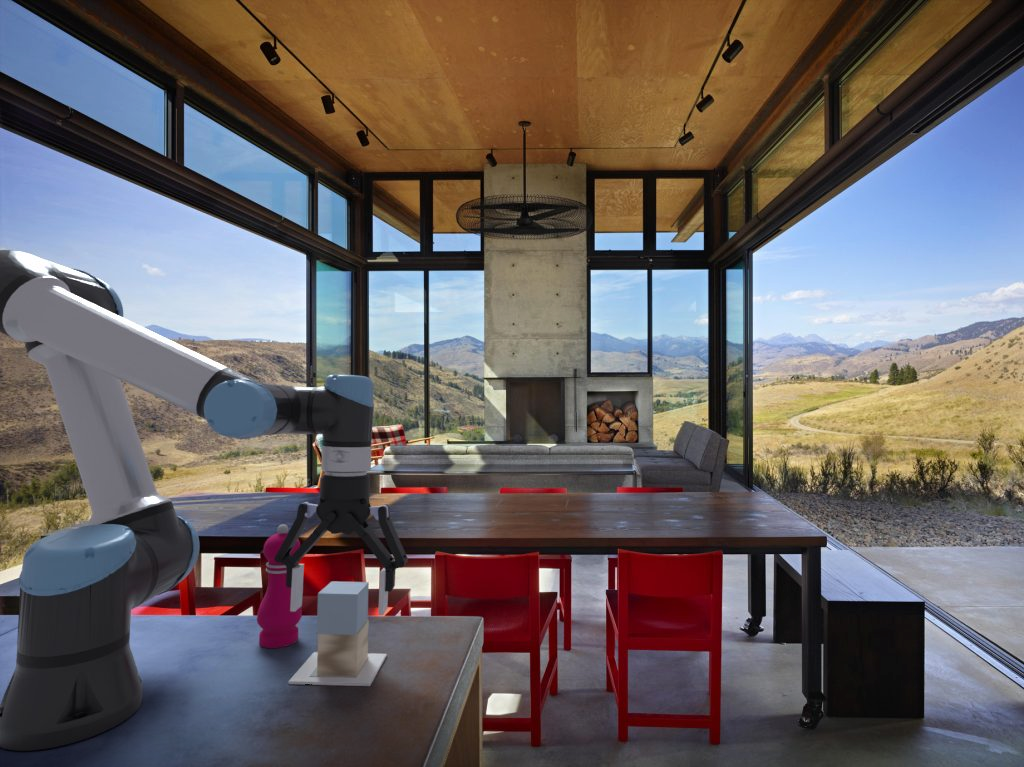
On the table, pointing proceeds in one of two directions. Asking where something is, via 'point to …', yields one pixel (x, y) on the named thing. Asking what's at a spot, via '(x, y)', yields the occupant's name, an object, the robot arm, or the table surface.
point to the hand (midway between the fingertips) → (339, 610)
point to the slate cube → (342, 608)
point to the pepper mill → (277, 599)
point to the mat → (364, 677)
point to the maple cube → (342, 653)
